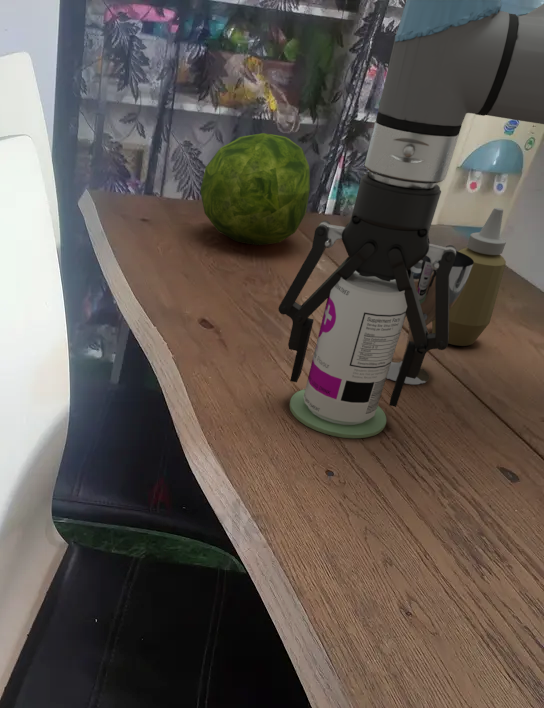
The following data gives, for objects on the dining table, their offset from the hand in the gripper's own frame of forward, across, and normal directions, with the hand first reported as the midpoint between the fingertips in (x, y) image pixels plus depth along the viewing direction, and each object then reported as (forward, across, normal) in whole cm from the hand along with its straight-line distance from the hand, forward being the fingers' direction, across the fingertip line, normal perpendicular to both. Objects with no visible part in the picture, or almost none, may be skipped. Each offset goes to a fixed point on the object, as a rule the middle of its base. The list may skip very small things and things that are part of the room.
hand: (343, 389), depth 82 cm
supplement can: (+3, 0, 0) cm, 3 cm away
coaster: (+3, 0, 0) cm, 3 cm away
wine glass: (+3, +6, +16) cm, 17 cm away
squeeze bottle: (+3, +12, +32) cm, 34 cm away
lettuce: (+3, -26, +60) cm, 65 cm away
